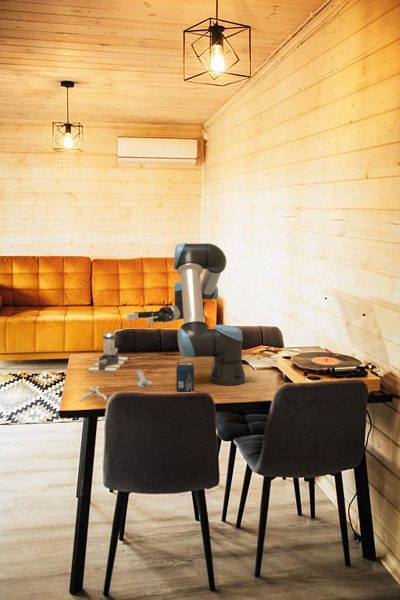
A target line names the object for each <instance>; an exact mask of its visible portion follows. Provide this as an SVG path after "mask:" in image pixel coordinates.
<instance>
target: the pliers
mask: <svg viewBox="0 0 400 600" xmlns="http://www.w3.org/2000/svg"><path fill="white" fill-rule="evenodd" d="M99 389H100V388H99V386H97V385H96V387H95V388H93V387H92V385H91V386H89V392H88V393H84V394H83V395H81V397H80V398H79V402H80V403H81V402H83V400H84V399H85V398H90V397H93V394H94V396H95V397H98V398H103V399H104V402H105V401H107V399H108V398H107V395H105V394H104V393H101V392H100V390H99Z"/></svg>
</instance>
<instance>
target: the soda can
mask: <svg viewBox="0 0 400 600" xmlns="http://www.w3.org/2000/svg"><path fill="white" fill-rule="evenodd" d="M175 374H176V375H175V377H176V379H175V382H176V384H175V390H176V392H177V393H178V392H191V391H193V392H194V391H195V367H194V364H193V362H191V361H179V362H178V363H177V366H176V373H175Z"/></svg>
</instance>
